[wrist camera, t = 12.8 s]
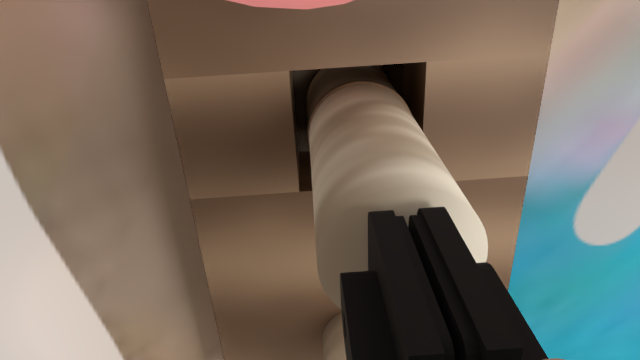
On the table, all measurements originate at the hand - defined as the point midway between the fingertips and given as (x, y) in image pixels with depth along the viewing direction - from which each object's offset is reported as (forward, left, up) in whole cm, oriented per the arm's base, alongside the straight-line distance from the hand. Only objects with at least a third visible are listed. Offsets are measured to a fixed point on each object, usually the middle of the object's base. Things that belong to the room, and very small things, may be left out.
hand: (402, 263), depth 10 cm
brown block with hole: (-5, 0, -12) cm, 13 cm away
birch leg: (0, 0, -12) cm, 12 cm away
